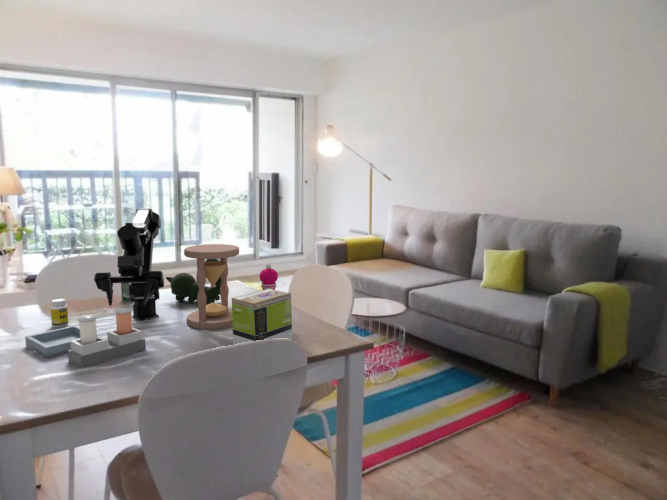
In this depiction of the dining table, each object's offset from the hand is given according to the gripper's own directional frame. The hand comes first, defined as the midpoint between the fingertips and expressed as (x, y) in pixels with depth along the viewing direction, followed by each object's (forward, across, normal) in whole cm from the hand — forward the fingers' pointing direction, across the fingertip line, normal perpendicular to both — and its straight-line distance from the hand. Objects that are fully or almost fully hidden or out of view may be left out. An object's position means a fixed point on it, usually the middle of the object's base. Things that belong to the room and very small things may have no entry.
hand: (127, 304), depth 146 cm
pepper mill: (-2, +41, +19) cm, 45 cm away
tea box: (+12, +38, +5) cm, 40 cm away
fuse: (+14, -8, -2) cm, 16 cm away
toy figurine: (-24, +16, +40) cm, 49 cm away
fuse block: (+14, -4, +3) cm, 15 cm away
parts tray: (+7, -18, +10) cm, 22 cm away
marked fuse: (+10, 0, +3) cm, 10 cm away
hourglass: (-5, +23, +22) cm, 32 cm away
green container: (-29, -8, +45) cm, 54 cm away
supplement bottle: (-8, -25, +24) cm, 36 cm away
